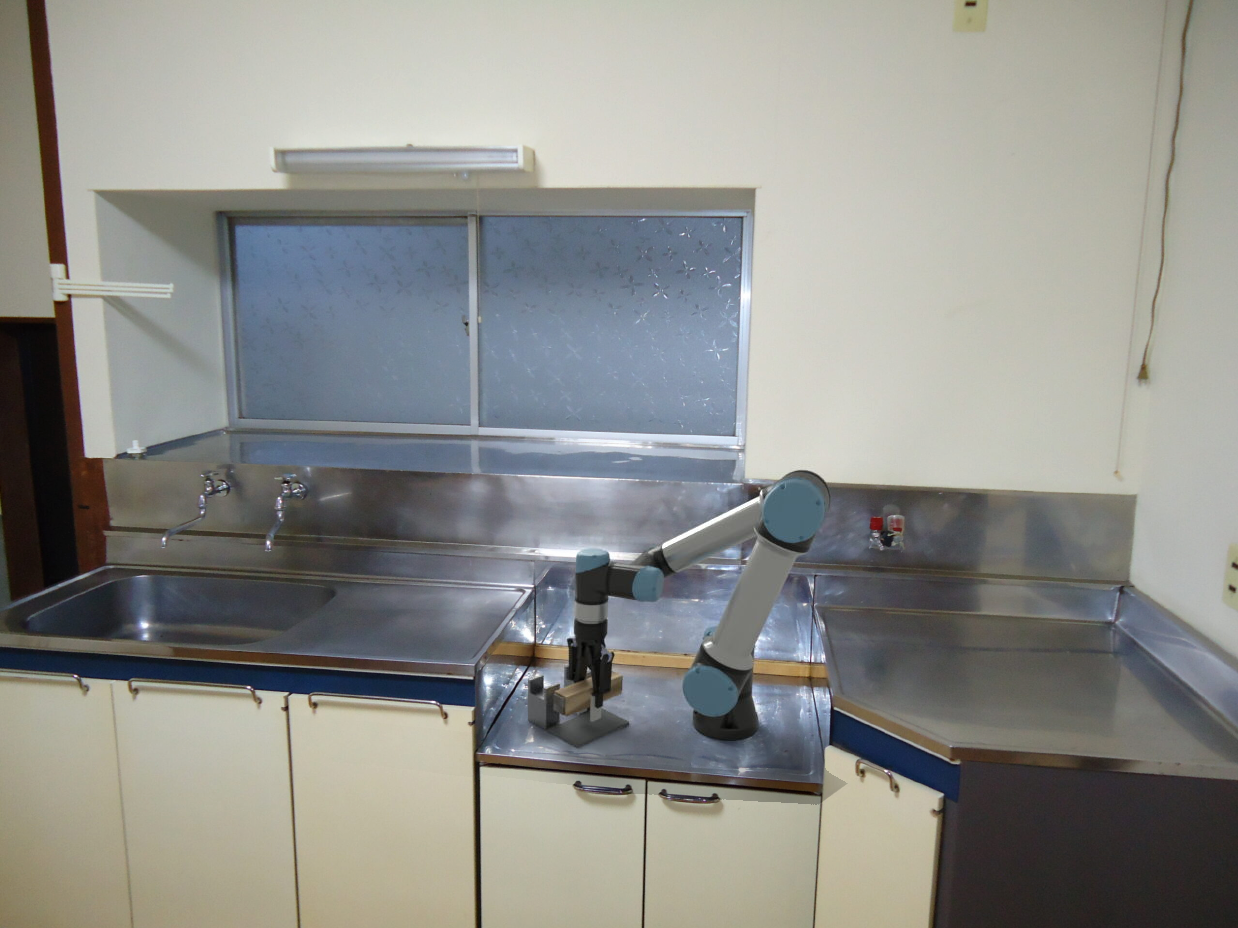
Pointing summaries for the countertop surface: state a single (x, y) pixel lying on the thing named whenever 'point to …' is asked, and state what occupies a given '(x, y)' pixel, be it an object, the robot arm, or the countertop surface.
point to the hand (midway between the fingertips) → (588, 715)
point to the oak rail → (582, 695)
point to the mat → (587, 728)
